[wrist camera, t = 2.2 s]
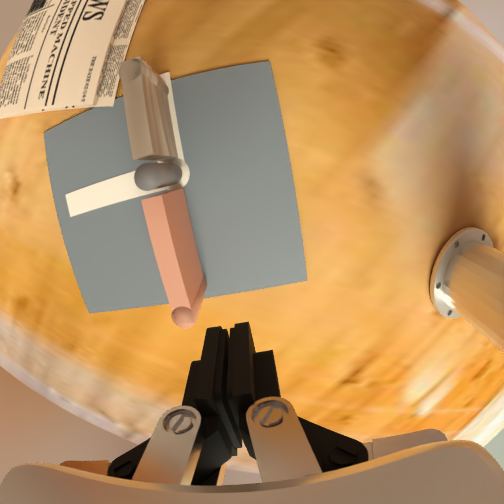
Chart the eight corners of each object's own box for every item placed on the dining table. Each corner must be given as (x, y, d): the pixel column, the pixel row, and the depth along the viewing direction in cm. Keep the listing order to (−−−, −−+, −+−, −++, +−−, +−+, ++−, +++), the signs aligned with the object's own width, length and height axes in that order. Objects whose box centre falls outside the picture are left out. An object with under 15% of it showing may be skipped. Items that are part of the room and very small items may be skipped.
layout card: (267, 53, 22) (267, 52, 22) (306, 279, 29) (307, 280, 29) (44, 125, 23) (42, 125, 23) (90, 312, 30) (88, 313, 29)
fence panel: (160, 166, 25) (131, 167, 18) (180, 161, 25) (157, 159, 18) (190, 293, 28) (175, 329, 22) (209, 290, 28) (199, 326, 22)
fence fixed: (167, 81, 23) (141, 54, 15) (180, 156, 25) (155, 152, 18) (148, 87, 23) (117, 63, 15) (160, 161, 25) (130, 160, 18)
